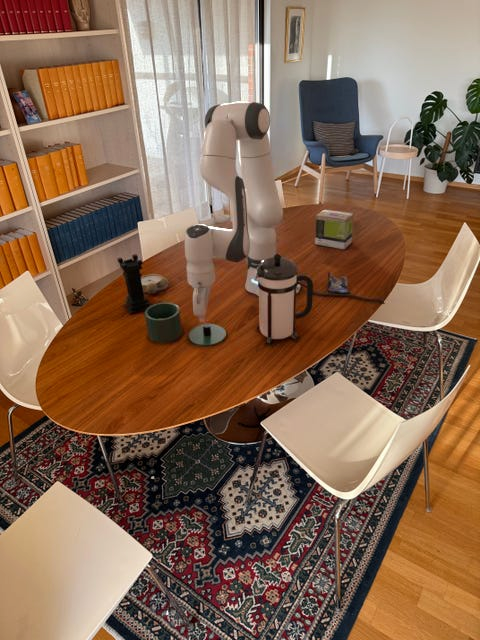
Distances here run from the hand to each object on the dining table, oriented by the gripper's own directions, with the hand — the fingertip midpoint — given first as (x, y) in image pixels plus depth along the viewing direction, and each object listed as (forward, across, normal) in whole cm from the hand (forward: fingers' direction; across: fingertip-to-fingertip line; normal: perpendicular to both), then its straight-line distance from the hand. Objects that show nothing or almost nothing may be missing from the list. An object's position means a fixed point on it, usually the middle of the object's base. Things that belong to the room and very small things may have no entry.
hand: (203, 313), depth 156 cm
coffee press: (+9, +2, -26) cm, 27 cm away
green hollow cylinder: (+10, +2, +14) cm, 18 cm away
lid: (+9, 0, -1) cm, 9 cm away
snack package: (+9, +34, -49) cm, 60 cm away
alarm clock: (+10, +36, +26) cm, 45 cm away
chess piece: (+10, +21, +29) cm, 37 cm away
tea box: (+9, +79, -53) cm, 95 cm away
